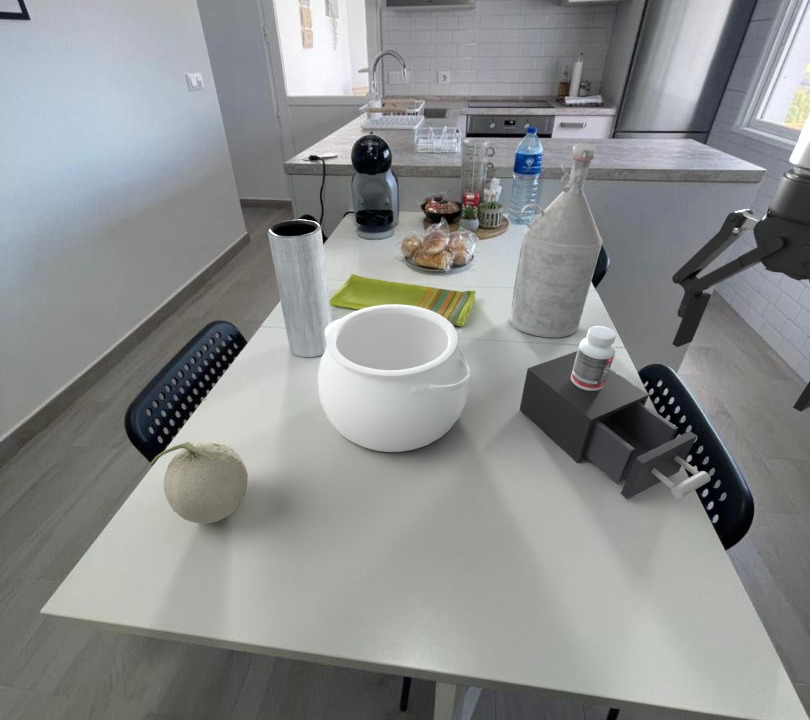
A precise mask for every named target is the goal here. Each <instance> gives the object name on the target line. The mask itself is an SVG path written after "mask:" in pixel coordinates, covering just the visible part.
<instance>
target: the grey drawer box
mask: <svg viewBox="0 0 810 720" xmlns="http://www.w3.org/2000/svg"><path fill="white" fill-rule="evenodd" d="M577 352H578V350H576V351H573V352H570V353H567V354H564V355H562V356H559V357H555V358H552V359H550V360H547V361H545V362H542V363H539V364H536V365H533V366H530V367H527V369H526V373H525V380H524V385H523V389H522V390H523V391H522V396H521V399H520V406H519V411H520V412H521V413H522V414H524V415H525V416H526V417H527V418H528V419H529V420H530V421H531V422H532V423H533V424H534V425H536V426H537V428H539V429H540V430H541V431H542V432H543V433H544V434H545V435H546V436H547V437H549V439H551V440H552V441H553V442H554V443H555V444H556V445H557V446H558V448H560V449H561V450H563V452H565V454H567V455H568V456H569V457H570V458H571V459H572V460H573V461H574V462H575V463H576V464H579V463H581V462H583V461H586V459H588V458H587V457H586V456H585V455H584V454H583V453H584V450H585V447H586V444H587V441H588V438H589V435H590V432H591V429H592V426H593V423H594V422H595V421H597V420H599V419H601V418H604V417H606V416H608V415H611V414H613V413H615V412H617V411H620V410H622V409H624V408H627V407H629V406H631V405H634V404H636V403H638V402H641V403H643V404H644V405H646V403H647V401H648V398H649V396H650V394H649V393H647V392H646V391H644V390H643V389H641V388H640V387H639V386H637V385H635V384H634V383H633V382H631V381H629V380H628V379H627V378H625V377H623V376H621V375H620V374H619V373H618V372H616V371H614V370H613V369H612V368H610V371H609V374H608V377H607V380H606V383H605V385H604V387H603V388H602V389H600V390H597V391H587V390H583V389H581V388H579V387H577V386H576V385H575V384H574V383H573V382H572V380H571V375H572V371H573V367H574V363H575V360H576V356H577Z"/></svg>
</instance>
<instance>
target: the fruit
mask: <svg viewBox="0 0 810 720" xmlns="http://www.w3.org/2000/svg"><path fill="white" fill-rule="evenodd" d="M180 449H181V450H180ZM176 450H180V451H179V452H177V453H176V454H175V455H174V456H173V457H172V459H171V460H170V462H169V463H168V465H167V468H166V470H165V473H164V477H163V492H164V496H165V498H166V501H167V503H168V504H169V506H170V508H171V509H172V510H173V512H174V513H176V514H177V515H178V517H180V518H182V519H183V520H185V521H188V522H191V523H195V524H210V523H216V522H218V521H221V520H223V519H225V518H227V517H229V516H230V515H231V514H233V513H234V512H235V510H237V509H238V507H240V504H241V503H242V501H243V500H244V498H245V496H246V492H247V489H248V488H247V487H248V479H249V478H248V475H249V474H248V470H247V467H246V466H245V465H246V464H245V463H244V460H242V458H241V456H240V455H239V454H238V453H237V452H236V451H235V450H234V449H233V448H232V447H231V446H229V445H227V444H225V443H222V442H219V441H199V442H196V443H192V442H191V441H187V442H184V443H180V444H177V445H174V446H172V447H170V448H167V449H165V450H163V451H161V452H160V453H158V454H157V455H156V456H154V458H153V459H152V461H151V462H150V464H149V465H150V467H152V466H153V465H154V463H156V461H158V459H160V458H161V457H163V456H164V455H166V454H169V453H170V452H173V451H176Z"/></svg>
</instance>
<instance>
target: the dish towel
mask: <svg viewBox="0 0 810 720" xmlns="http://www.w3.org/2000/svg"><path fill="white" fill-rule="evenodd" d="M476 292H477V291H476V290H464V291H460V290H453V289H445V288H438V287H432V286H425V285H420V284H419V285H418V284H413V283H403V282H396V281H389V280H382V279H376V278H370V277H364V276H361V275H357V274H353V273H351V274H350V277H349V278H348V279H347V280H346V281H345V282H344V283H343V285H342V286H341V287H340V288H339V289H338V291H336V292H335V293H334V294H333V295H332V296H331V297H330V298H329V300H330V306H334V307H340V308H348V309H352V310H357V311H358V310H361V309H364V308H368V307H372V306H379V305H395V304H398V305H410V306H416V307H421V308H424V309H428V310H431V311H433V312H435V313H438V314H439V315H441V316H443V317H444V318H446V319H447V320H448V321H449V322H450V323H451V324H452V325H453V326H454V327H455V326H458V327H460V328H461V327H463V326H464V325H465V324H466V322H467V319H468V317H469V315H470V312H471V310H472V309H473V307H474V304H475V302H476Z"/></svg>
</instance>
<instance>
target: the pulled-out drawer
mask: <svg viewBox="0 0 810 720" xmlns="http://www.w3.org/2000/svg"><path fill="white" fill-rule="evenodd" d="M678 429H679V427H677V426H676V425H674V424H673V423H672V422H670V421H669V420H668V419H666V418H664V417H663V416H661V415H660V414H659V413H658V412H656V411H655V410H653V409H652V408H650V407H649V406H647V405H646V404H645V405H644V404H643V403H641V402H638V403H636V404H634V405H631V406H629V407H627V408H624V409H622V410H620V411H617V412H615V413H613V414H611V415H608V416H606V417H604V418H601V419H599V420H597V421H595V422H594V423H593V426H592V429H591V432H590V435H589V438H588V441H587V444H586V447H585V450H584V453H583V454H584V455H585V456H586V457H587V459H588V460H590V461H591V462H592V463H593V464H594V465H595V466H596V467H597V468H599V469H600V470H601V471H602V473H604V474H605V475H606V476H607V477H608V478H609V479H610V480H612V481H613V482H614V483H615V484H616V485H619V484H621V483H622V482H625V483H624V485H623V487H622V490H621V492H620V495H621V496H622V497H623V498H624V499H626V500H629V499H632V498H633V497H635V496H636V495H639V494H640V493H643V492H644V491H646V490H648V489H650V488H651V487H653V486H655V485H656V484H658V483H661V482H662V483H663V484H665V485H666V486H667V487H668V488H669V489H670V492H671V494H672V495H673V496H674V498H676V499H682V498H683V497H685V496H687V495H689V494H690V493H692V492H694V491H696V490H697V489H700V487H702V486H704V485H706V484H707V483H709V482H710V481H711V475H710V474H709V472H706V471H704V470H701V471H699V470H698V469H697V468H695V467H694V466H692V464H689V463H688V462H687V461H686V458H687V456H688V455H689V453H690V451H691V450H692V449H691V448H692V447H693V445H694V443H695V441H696V439H697V437H698V436H697V435H696V434H695V433H693V432H692V431H690V430H689V431H687V432H685V433H683V434H681V435H679V436H677V437H675V436H676V434H677V431H678ZM682 467H683V468H684V469H686V470H687V471H688V472H689V473H690V474H692V476H690V477H688V478H686V479H684V480H682V481H680V482H679V483H676V484H675V483H674V482H673V481H671V480H670V479H669V477H671V476H673V475H675V474H677V473H678V472H680V469H681V468H682Z"/></svg>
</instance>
